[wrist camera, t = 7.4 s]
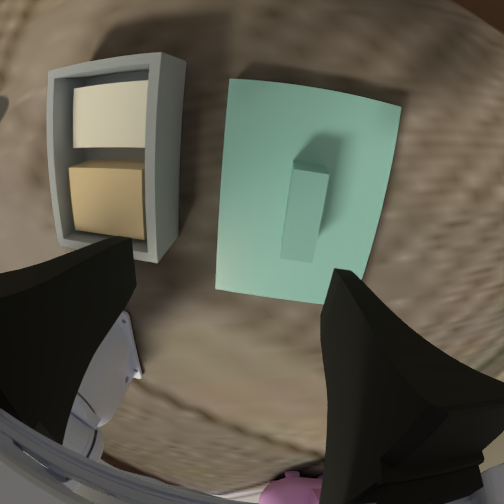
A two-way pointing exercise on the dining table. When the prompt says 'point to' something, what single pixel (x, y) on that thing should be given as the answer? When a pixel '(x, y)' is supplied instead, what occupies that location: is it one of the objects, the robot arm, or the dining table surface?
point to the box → (117, 151)
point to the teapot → (292, 490)
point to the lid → (300, 187)
